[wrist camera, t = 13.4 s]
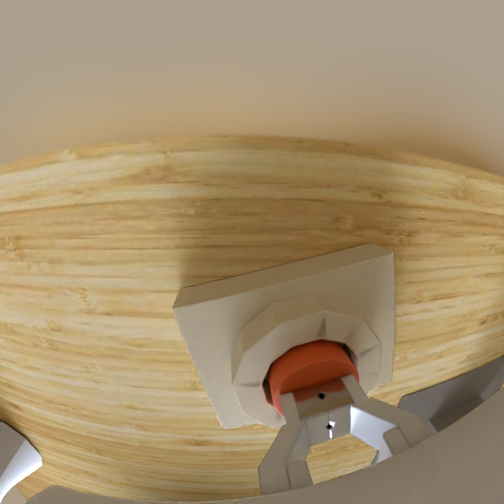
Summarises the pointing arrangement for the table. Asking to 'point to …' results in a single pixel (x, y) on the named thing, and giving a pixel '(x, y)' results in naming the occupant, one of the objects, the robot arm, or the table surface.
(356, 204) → the table surface
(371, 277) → the block
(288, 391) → the button
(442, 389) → the platform
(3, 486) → the flask
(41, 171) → the table surface
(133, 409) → the table surface
